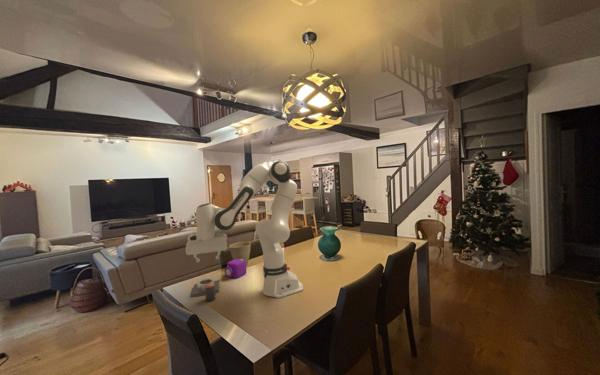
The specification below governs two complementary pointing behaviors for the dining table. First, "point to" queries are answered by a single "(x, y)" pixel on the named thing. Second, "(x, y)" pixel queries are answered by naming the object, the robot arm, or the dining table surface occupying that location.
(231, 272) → the toy camera
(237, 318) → the dining table surface
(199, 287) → the octagon ring plate
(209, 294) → the dome-topped dark cylinder
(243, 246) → the plant pot
